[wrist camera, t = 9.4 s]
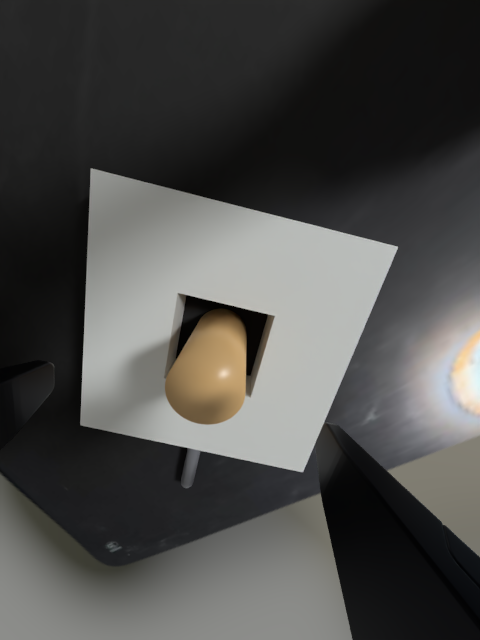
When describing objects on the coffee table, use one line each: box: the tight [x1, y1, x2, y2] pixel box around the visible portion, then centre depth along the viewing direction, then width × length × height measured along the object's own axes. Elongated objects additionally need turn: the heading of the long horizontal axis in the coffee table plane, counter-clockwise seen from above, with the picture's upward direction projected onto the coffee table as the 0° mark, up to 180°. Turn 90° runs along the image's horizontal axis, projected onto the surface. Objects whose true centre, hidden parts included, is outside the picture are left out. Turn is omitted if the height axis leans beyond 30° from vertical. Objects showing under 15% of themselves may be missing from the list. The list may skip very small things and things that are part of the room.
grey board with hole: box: [80, 168, 398, 488], centre depth 20 cm, size 18×25×3 cm
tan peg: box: [165, 308, 247, 425], centre depth 16 cm, size 4×4×8 cm
